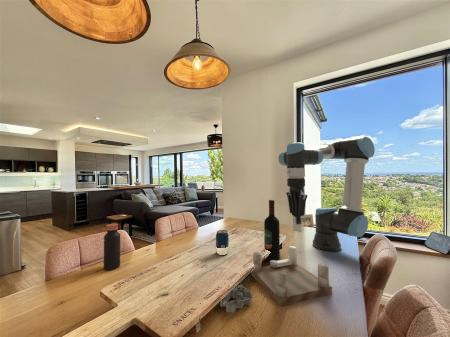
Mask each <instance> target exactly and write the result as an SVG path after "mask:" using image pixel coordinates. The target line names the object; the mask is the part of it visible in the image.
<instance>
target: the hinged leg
mask: <svg viewBox="0 0 450 337" xmlns="http://www.w3.org/2000/svg"><path fill="white" fill-rule="evenodd" d="M287 248H288V250H287V251H288V258H285V259H280V260H278V261H275V260H271V261H270V262H269V266H270V267H272V268H277V267H281V266H286V265H296V264H297V263H298V260H297V258H298V255H297V254H298V251H297V250H298V249H297V247H296V246H293V245H292V246H291V245H290V246H288V247H287Z"/></svg>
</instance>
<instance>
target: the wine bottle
mask: <svg viewBox="0 0 450 337" xmlns="http://www.w3.org/2000/svg"><path fill="white" fill-rule="evenodd" d="M263 224H264V227H263V228H264V229H263V230H264V233H263V234H264V236H263V237H264V241H263V242H264V243H263V244H264V248H265V249H266V250H268V251H270V252H271V253H270V254H269V256H268V257H267V258H266V259H265V258H264V260H265V261H266V262H269V263H270V261H271V260H275V261H278V260H281V259H280V258H281V256H280V255H281V253H280V252H281V250H280V246H281V244H280V237H281V236H280V233H281V232H280V220H279V218H277V216H275V200H274V199H269V200H268V216H267V217H266V218H265V219H264V222H263Z"/></svg>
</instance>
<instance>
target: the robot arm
mask: <svg viewBox="0 0 450 337" xmlns="http://www.w3.org/2000/svg"><path fill="white" fill-rule="evenodd" d="M375 153H376V152H375V145H374V142H373V141H372V139H371V138H370V137H368V136H356V137H351V138H344V139H338V140H335V141H332V142H327V143H324V144H322V145H320V146H313V147H308V148H307V147H306V148H305V144H304V143H303V142H292V143H291V142H290V143H289V144H287V146H286V150H285V151H283V152H280V153H279V155H278V163H279V164H280V165H281V166H284V167H285V166H286V168H287V170H286V175H287V178H286V179H287V181H286V182H287V183H286V184H287V185H286V186H287V187H289V189H288V190H289V191H287V192H285V194H286V196H287V202H288V208H289V213H290V214H291V215H292V226H293V228H292V229H293V232H301V229H302V227H301V223H302V218H301V217H303V216H305V210H306V204H307V203H306V202H307V198H308V194H305V192H304V187H305V186H306V179H305V177H306V169H305V166H306V165H307V166H309V165H310V166H311V165H312V166H316V165H319V164H321V163H322V162H323V160H342V159H343V162H345V164H346V165H345V166H346V167H345V176H344V186H343V194H342V195H343V196H342V204H341V206H339V207H338V208H337V207H317V208H316V209H315V215H314V219H315V234H314V237H313V239H312V246H313V247H314V248H316V249H319V250H322V251H324V252H325V251H327V252H339V251H341V250H342V245H341V242H340V239H339V238H340V237H339V236H338V235H339V234H343V235H347V236H349V237H356V238H360V237H363V236H364V235H365V233H366V232H367V230H368V227H369V219H368V217H367V216H366V215H365V212H364V210H363V209H362V198H363V189H364V188H363V187H364V179H365V169H366V168H365V167H366V164H367V163H369V160H370V158H373V157H374V155H375Z"/></svg>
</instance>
